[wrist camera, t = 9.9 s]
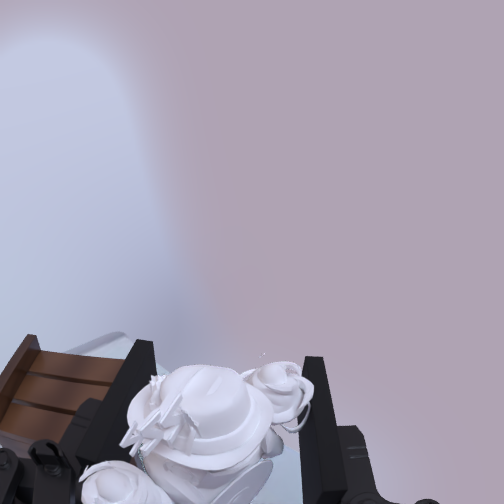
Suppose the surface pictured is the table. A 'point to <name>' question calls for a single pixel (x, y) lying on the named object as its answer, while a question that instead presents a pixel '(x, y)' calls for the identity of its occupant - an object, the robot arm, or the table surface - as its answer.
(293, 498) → the table surface
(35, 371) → the rack
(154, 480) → the hat wearing toy figure
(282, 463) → the table surface
